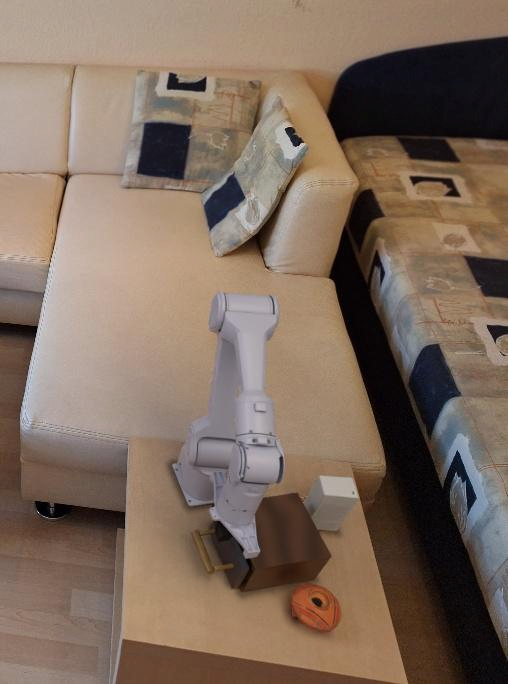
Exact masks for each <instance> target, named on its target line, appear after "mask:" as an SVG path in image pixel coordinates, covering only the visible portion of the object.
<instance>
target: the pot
mask: <svg viewBox="0 0 508 684" xmlns="http://www.w3.org/2000/svg"><path fill="white" fill-rule="evenodd" d="M289 602H290V606H291V609H292V610H291V616H292V618H296V617H297V619H298V620H299V621H300V622H301V623H302V624H304V625H305V626H306V627H307V628H309V629H312V630H314V631H317V632H331V631H333V630H335V629H336V628H337V627H339V625H340V622H341V620H342V608H341V605H340V603H339V600H338V598H337V597H336V596H335V595H334V594H333V593H332V592H331V591H330V590H329V589H328V588H325V587H324V586H321V585H319V584H315V583H310V582H305V583H301V584H299V585H297V586H295V587H294V588H293V589H292V591H291V594H290V601H289Z"/></svg>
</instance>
